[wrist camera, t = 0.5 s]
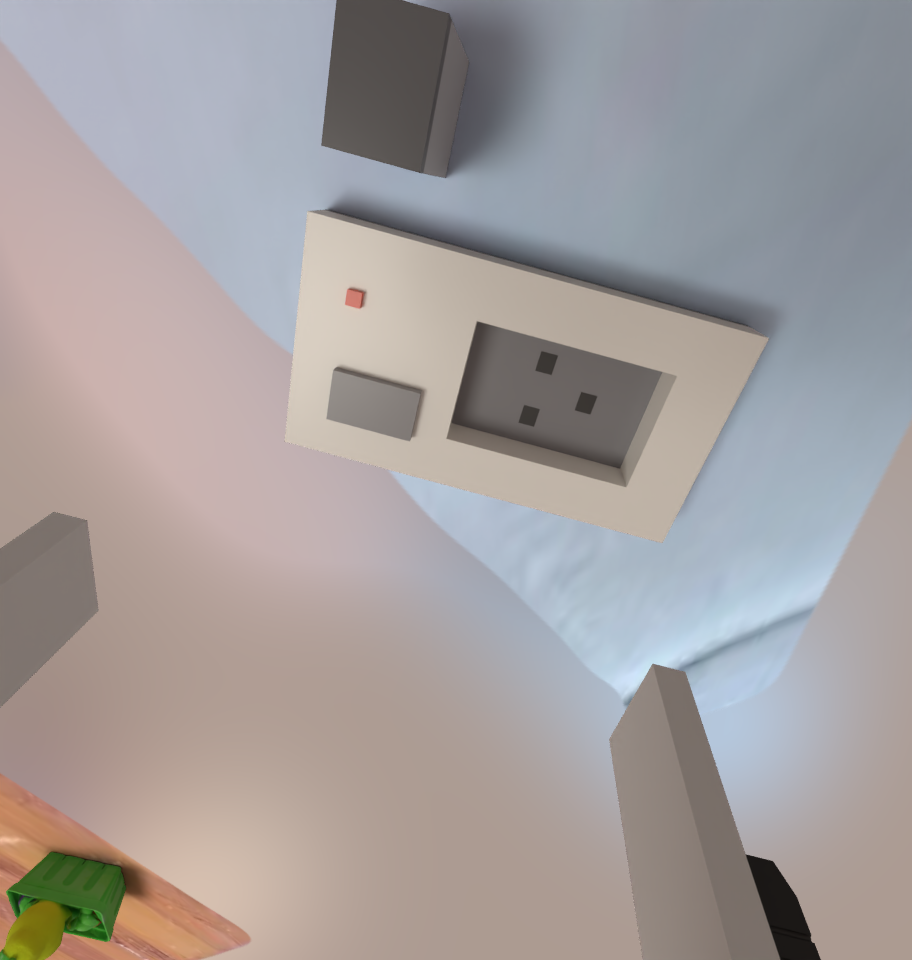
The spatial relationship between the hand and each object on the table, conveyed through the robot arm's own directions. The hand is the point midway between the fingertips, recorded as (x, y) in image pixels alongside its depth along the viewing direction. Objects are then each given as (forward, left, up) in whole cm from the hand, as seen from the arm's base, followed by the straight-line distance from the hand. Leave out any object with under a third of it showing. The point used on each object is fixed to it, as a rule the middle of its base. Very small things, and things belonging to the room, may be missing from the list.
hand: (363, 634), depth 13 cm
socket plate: (0, +3, -23) cm, 23 cm away
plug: (-12, -5, -23) cm, 26 cm away
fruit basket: (+73, -29, -23) cm, 82 cm away
